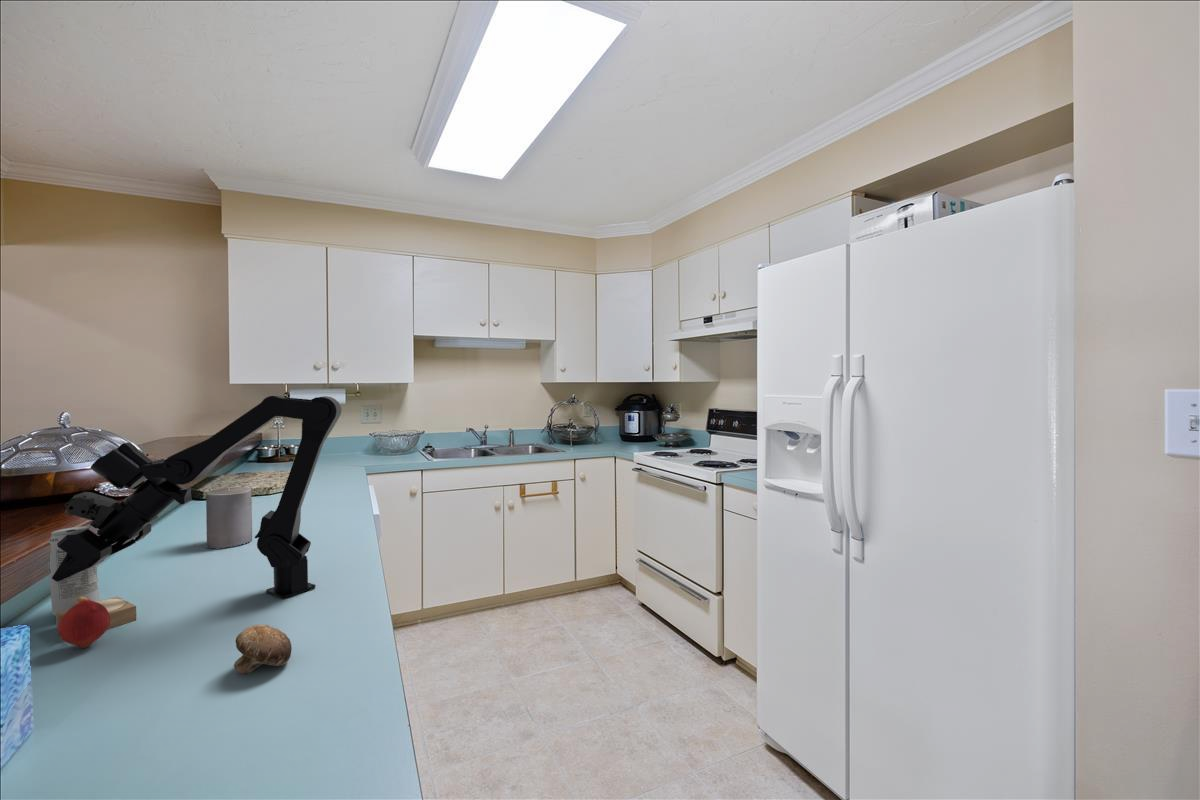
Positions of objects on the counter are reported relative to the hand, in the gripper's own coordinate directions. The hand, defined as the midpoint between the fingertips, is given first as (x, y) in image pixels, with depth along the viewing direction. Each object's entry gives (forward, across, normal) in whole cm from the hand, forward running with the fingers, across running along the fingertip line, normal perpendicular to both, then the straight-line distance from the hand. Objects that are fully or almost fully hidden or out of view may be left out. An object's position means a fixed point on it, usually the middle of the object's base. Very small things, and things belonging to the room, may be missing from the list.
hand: (68, 572), depth 94 cm
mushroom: (-21, +31, +32) cm, 49 cm away
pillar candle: (-4, -40, +14) cm, 43 cm away
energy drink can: (+5, 0, +6) cm, 8 cm away
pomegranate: (-1, +15, +12) cm, 20 cm away
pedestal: (+1, +6, +10) cm, 12 cm away
